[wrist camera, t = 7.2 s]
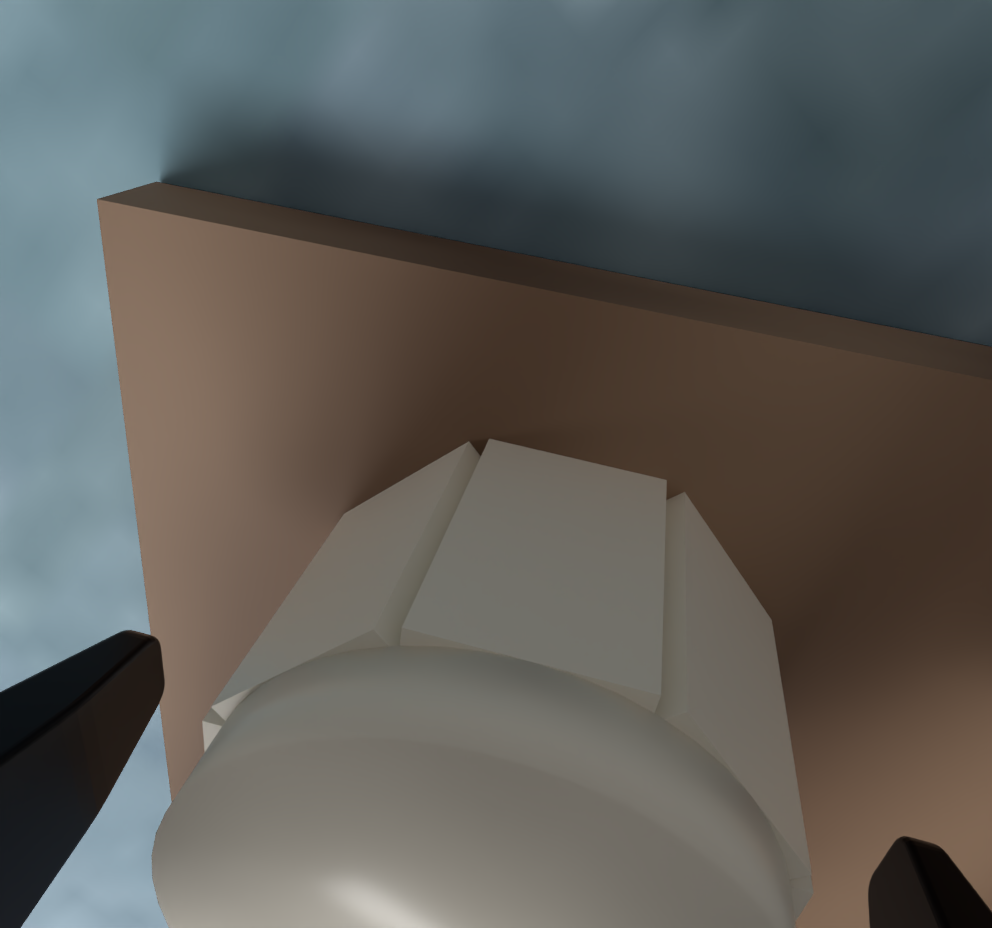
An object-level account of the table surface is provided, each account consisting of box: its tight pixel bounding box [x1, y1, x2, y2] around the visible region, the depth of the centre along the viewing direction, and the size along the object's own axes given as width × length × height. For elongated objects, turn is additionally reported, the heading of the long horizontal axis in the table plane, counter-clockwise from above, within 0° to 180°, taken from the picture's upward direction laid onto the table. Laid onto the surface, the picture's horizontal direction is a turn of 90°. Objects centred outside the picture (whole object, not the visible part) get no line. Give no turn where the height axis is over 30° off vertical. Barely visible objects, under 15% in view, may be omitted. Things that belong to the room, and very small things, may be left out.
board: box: [97, 182, 992, 928], centre depth 12 cm, size 20×14×1 cm
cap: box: [152, 439, 814, 928], centre depth 9 cm, size 6×6×4 cm
